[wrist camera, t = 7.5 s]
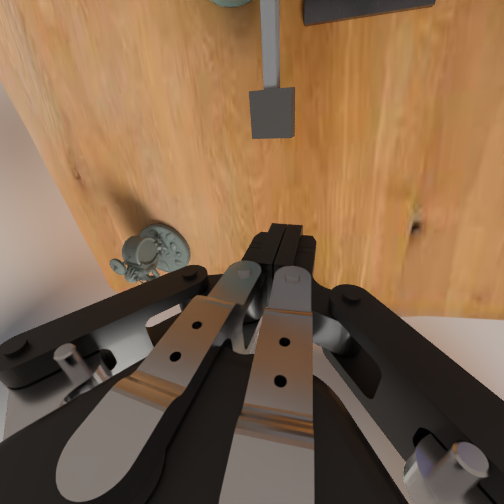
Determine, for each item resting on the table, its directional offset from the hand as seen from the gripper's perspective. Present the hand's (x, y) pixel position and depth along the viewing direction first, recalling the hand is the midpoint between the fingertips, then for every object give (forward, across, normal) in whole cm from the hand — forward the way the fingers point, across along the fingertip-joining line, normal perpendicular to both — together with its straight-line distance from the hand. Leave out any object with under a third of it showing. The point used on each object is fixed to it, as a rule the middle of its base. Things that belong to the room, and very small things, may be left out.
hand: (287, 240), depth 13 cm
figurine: (+25, +28, +18) cm, 42 cm away
